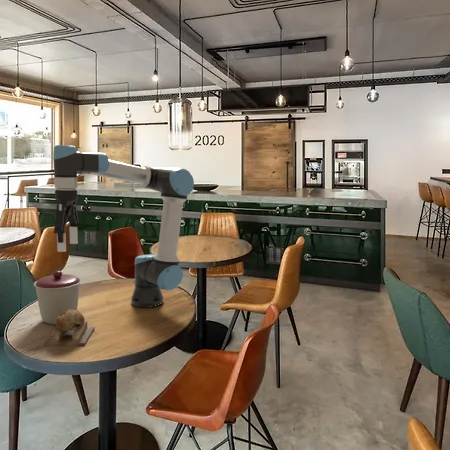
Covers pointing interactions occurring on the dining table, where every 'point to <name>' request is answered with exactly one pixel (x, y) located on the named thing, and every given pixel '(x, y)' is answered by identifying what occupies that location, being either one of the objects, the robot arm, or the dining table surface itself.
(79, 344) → the display stand
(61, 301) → the canister
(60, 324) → the bread roll
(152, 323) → the dining table surface
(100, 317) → the dining table surface
